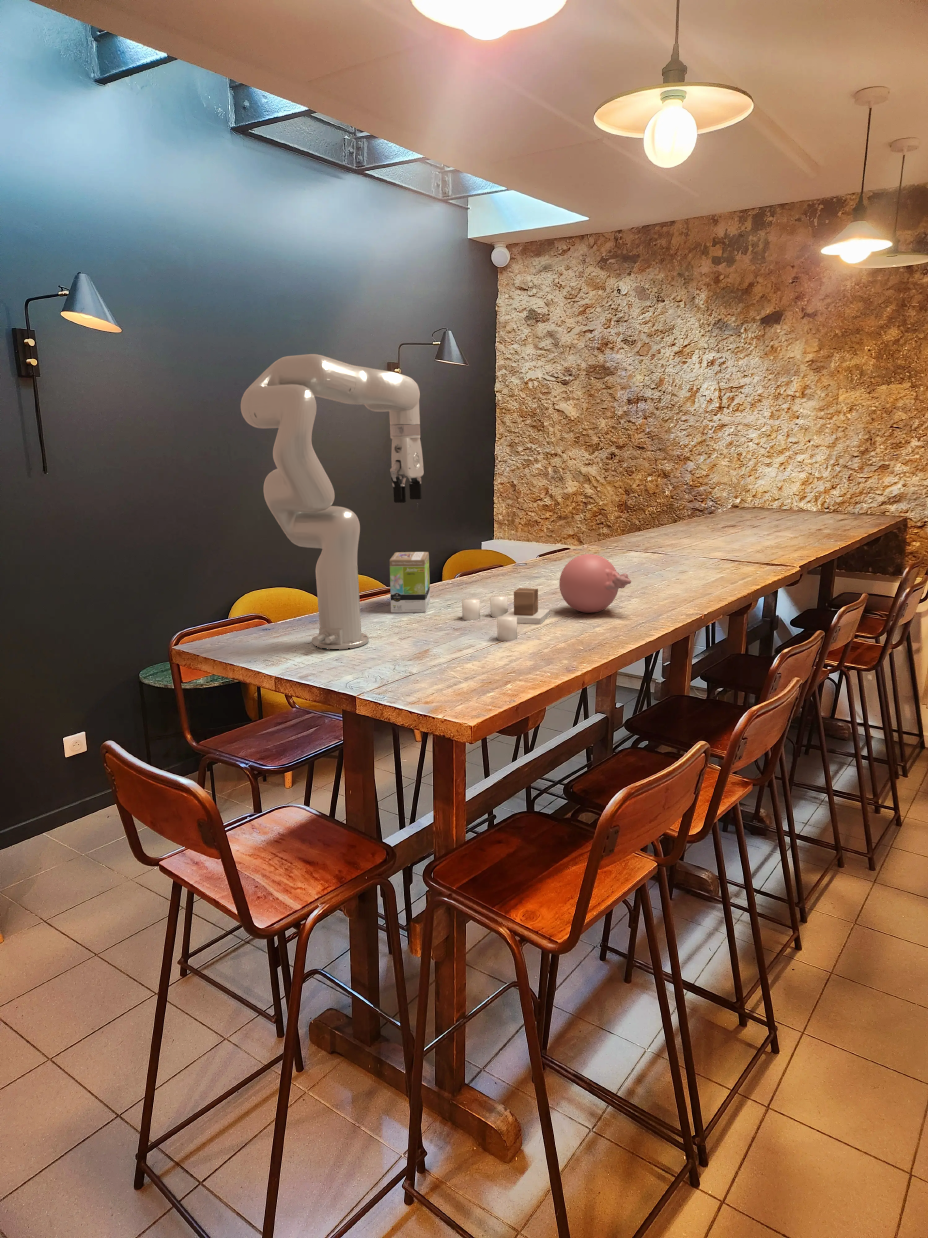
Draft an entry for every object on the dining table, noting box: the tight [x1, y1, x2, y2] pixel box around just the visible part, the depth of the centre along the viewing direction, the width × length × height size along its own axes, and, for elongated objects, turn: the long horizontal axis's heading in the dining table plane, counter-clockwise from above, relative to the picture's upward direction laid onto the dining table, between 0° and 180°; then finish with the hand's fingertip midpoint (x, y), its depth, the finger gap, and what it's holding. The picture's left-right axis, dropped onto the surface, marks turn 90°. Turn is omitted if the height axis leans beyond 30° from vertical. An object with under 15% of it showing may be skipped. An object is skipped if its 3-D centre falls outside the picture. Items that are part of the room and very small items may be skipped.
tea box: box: [389, 551, 431, 614], centre depth 218 cm, size 15×10×15 cm, turn 179°
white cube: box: [461, 597, 481, 622], centre depth 204 cm, size 5×5×5 cm
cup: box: [496, 615, 518, 642], centre depth 184 cm, size 5×5×5 cm
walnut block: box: [513, 587, 539, 616], centre depth 202 cm, size 5×5×6 cm
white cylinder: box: [489, 594, 509, 618], centre depth 207 cm, size 5×5×5 cm
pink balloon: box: [559, 553, 632, 614], centre depth 205 cm, size 15×20×15 cm
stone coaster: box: [504, 607, 551, 625], centre depth 203 cm, size 10×10×2 cm
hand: (408, 500), depth 202 cm, fingers open, 9 cm apart
